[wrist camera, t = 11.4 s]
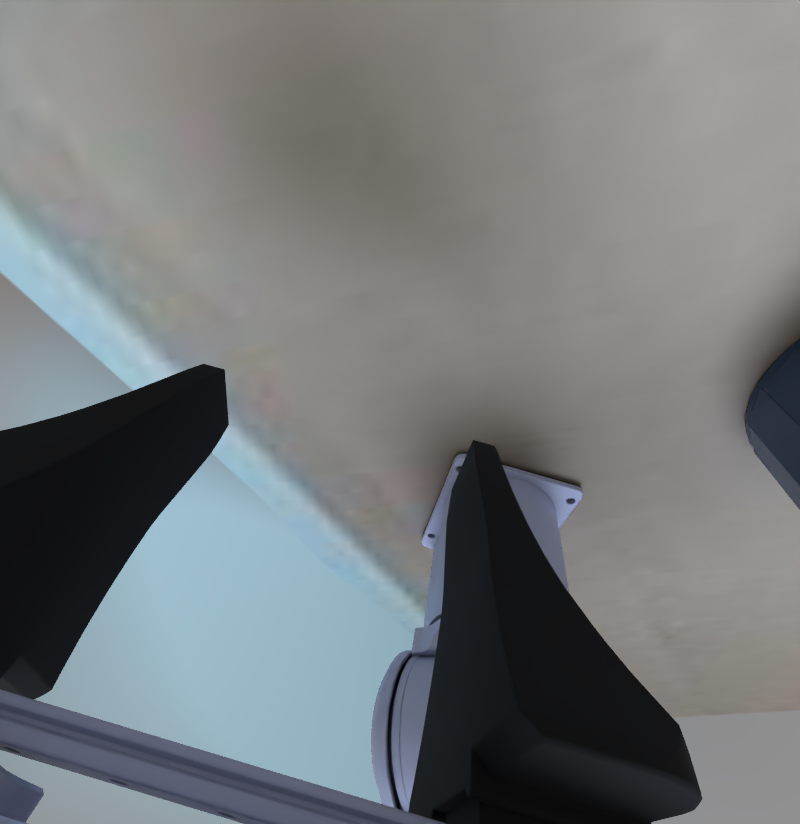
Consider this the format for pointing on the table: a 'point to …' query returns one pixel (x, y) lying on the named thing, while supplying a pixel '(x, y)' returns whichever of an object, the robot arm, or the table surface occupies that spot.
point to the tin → (778, 421)
